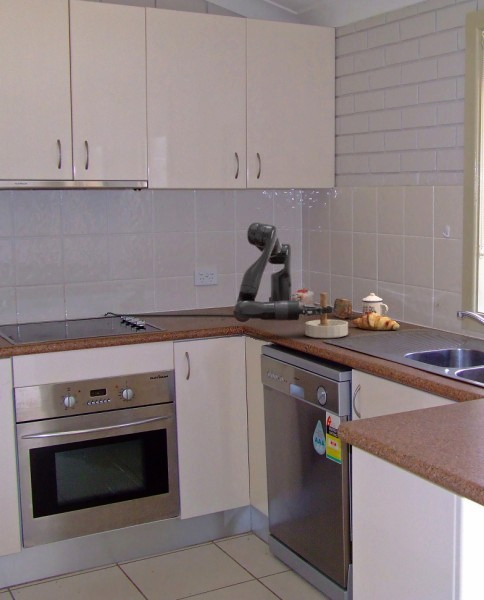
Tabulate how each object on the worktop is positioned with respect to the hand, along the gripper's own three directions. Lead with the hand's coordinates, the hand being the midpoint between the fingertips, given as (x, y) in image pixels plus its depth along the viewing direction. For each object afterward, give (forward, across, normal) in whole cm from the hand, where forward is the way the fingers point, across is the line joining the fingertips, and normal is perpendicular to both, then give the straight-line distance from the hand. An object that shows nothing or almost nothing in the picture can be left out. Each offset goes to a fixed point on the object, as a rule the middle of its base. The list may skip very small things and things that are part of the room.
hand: (330, 309), depth 324 cm
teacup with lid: (+25, +39, +10) cm, 47 cm away
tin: (+12, +48, +11) cm, 51 cm away
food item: (-3, +78, +11) cm, 79 cm away
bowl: (-1, +2, +10) cm, 11 cm away
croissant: (+20, +14, +10) cm, 27 cm away
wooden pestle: (-3, 0, +10) cm, 10 cm away
